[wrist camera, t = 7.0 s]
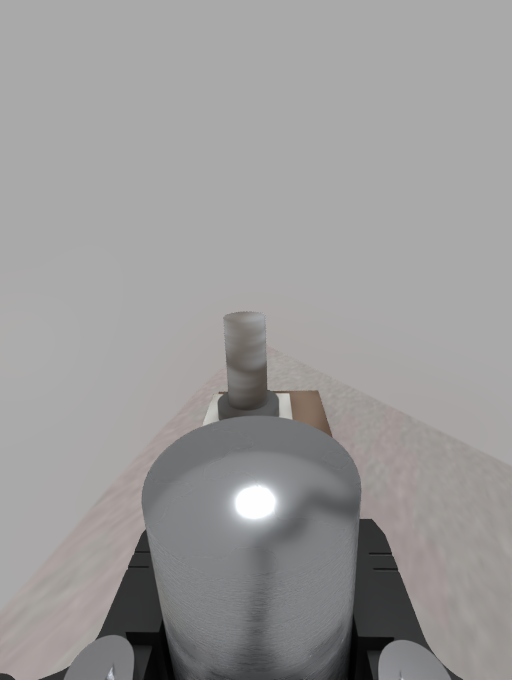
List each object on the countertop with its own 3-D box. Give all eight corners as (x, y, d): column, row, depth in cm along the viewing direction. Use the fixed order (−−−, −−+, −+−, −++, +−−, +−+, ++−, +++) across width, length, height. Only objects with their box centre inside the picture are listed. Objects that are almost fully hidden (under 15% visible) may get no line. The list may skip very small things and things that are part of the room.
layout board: (317, 399, 40) (320, 302, 36) (371, 582, 19) (389, 395, 15) (215, 400, 40) (208, 305, 37) (157, 578, 19) (126, 399, 16)
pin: (354, 642, 12) (372, 390, 9) (435, 1038, 6) (576, 703, 3) (186, 639, 13) (146, 395, 9) (109, 1013, 7) (-75, 687, 3)
